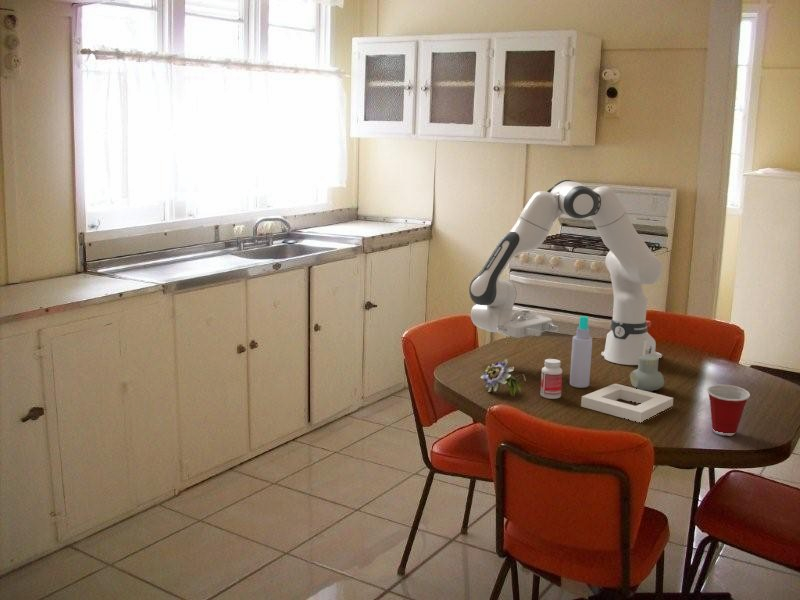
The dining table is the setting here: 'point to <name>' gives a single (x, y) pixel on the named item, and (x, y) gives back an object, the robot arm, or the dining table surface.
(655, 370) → the air freshener
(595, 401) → the hole block
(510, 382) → the passion flower
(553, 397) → the pill bottle
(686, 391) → the dining table surface
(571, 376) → the spray bottle
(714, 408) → the plastic cup
